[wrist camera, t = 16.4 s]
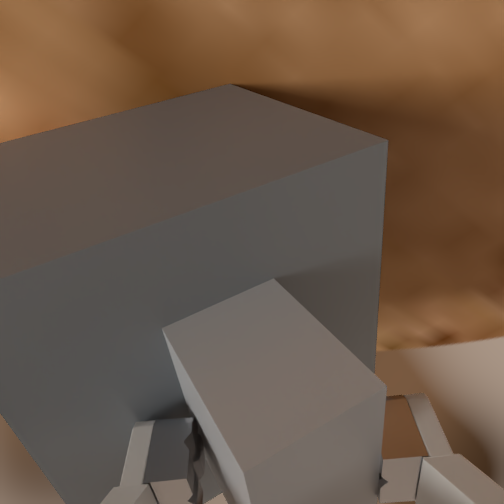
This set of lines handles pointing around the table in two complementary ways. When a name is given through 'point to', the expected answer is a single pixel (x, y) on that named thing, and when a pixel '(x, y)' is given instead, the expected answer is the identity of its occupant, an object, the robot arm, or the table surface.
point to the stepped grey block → (197, 296)
